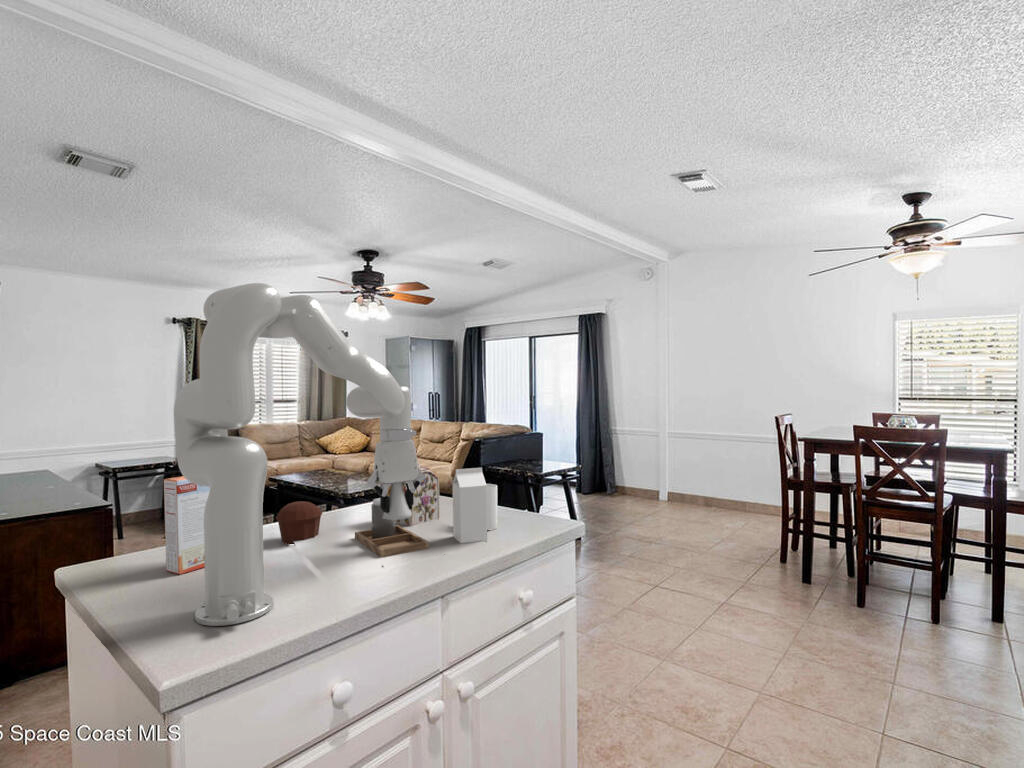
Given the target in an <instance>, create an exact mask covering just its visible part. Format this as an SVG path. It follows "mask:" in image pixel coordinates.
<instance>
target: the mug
mask: <svg viewBox="0 0 1024 768" xmlns="http://www.w3.org/2000/svg"><path fill="white" fill-rule="evenodd" d="M486 485H487V530H489V529H494V528H496V527H497V528H498V485H497V484H492V483H486ZM497 528H496V529H497Z"/></svg>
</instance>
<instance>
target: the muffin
mask: <svg viewBox="0 0 1024 768" xmlns="http://www.w3.org/2000/svg"><path fill="white" fill-rule="evenodd" d="M322 515H323V512H322V510H321V508H320V507H318V506H317V505H316V504H314V503H313V502H311V501H305V500H304V501H302V500H299V501H293V502H290V503H287V504H286V505H284V506H283V507H282V508H280V510H279V512H278V513H277V514H276V516H275V520H277V522H278V528H279V532H280V539H281V542H282V543H283V542H284V543H283V544H284V545H290V544H296V543H295V542H296V541H299V542H300V541H306V540H310V539H315V537H316V536H318V535H319V533H320V532H319V531H320V525H321V516H322Z"/></svg>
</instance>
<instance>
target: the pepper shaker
mask: <svg viewBox="0 0 1024 768" xmlns="http://www.w3.org/2000/svg"><path fill="white" fill-rule="evenodd" d="M383 514H384V512H383V511H382V509H381V507H380V497H379V498H374V499H372V503H371V529H372V539H377V538H383V537H389V536H395V535H396V523H395V520H388V519H382V518H383Z"/></svg>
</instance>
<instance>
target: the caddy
mask: <svg viewBox="0 0 1024 768" xmlns="http://www.w3.org/2000/svg"><path fill="white" fill-rule="evenodd" d="M395 525H396V524H395ZM354 539H355V540H356V541H358V542H359V543H360V544H361V545H363V546H365V547H366V548H367V549H369V550H370V551H371V552H373V553H374V554H375V555H377V556H378V557H380V558H381V559H382V558H387V557H392V556H397V555H402V554H406V553H407V554H408V553H412V552H418V551H424V550H428V549H430V542H429V541H428V540H426V539H425V538H423V537H421V536H419V535H418V534H416V533H413V532H412V531H410V530H409V529H406V528H404V527H403V526H401V525H399V524H397V525H396V535H395V536H389V537H383V538H377V539H372V528H371V529H365V530H359V531H355V532H354Z"/></svg>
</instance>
